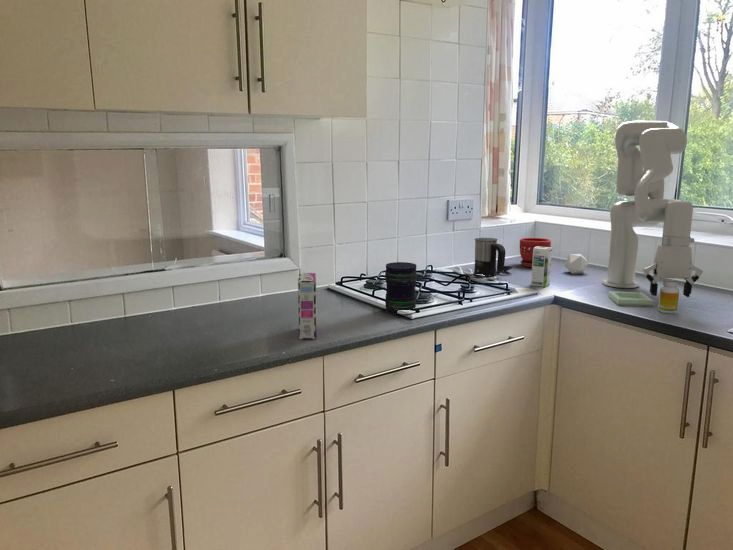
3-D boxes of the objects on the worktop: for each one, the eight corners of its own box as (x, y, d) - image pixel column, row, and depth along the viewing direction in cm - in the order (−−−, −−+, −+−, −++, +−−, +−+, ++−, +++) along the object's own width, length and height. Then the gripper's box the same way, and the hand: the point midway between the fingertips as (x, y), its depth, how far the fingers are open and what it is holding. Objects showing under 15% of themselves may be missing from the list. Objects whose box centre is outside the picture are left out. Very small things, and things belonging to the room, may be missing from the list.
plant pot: (555, 266, 250) (557, 239, 247) (534, 270, 244) (535, 242, 241) (533, 261, 261) (534, 235, 258) (512, 264, 255) (513, 238, 252)
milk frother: (469, 275, 234) (470, 239, 231) (485, 268, 247) (486, 234, 243) (502, 279, 226) (504, 242, 223) (516, 272, 239) (518, 237, 235)
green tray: (608, 296, 199) (608, 291, 199) (641, 297, 198) (642, 292, 197) (617, 305, 189) (618, 299, 188) (652, 306, 187) (653, 300, 187)
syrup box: (530, 285, 216) (532, 247, 213) (535, 282, 221) (537, 245, 218) (545, 287, 213) (548, 249, 210) (550, 284, 218) (552, 246, 215)
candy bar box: (317, 339, 155) (316, 281, 152) (298, 340, 155) (297, 281, 151) (317, 327, 166) (316, 272, 163) (300, 327, 166) (298, 272, 162)
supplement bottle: (679, 313, 178) (682, 283, 176) (660, 312, 179) (664, 282, 177) (673, 309, 183) (677, 279, 181) (655, 308, 185) (658, 278, 182)
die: (586, 277, 232) (594, 257, 234) (568, 267, 231) (577, 246, 234) (575, 280, 240) (583, 260, 242) (558, 270, 239) (566, 250, 242)
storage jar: (418, 315, 178) (419, 268, 175) (386, 315, 177) (387, 268, 174) (413, 306, 188) (414, 261, 185) (383, 307, 187) (383, 262, 184)
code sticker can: (657, 309, 184) (657, 308, 184) (671, 309, 183) (671, 309, 183) (662, 312, 180) (662, 312, 180) (677, 313, 179) (677, 313, 179)
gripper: (700, 240, 179) (694, 293, 182) (641, 239, 181) (637, 292, 185) (711, 243, 172) (704, 299, 175) (650, 242, 174) (644, 297, 177)
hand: (669, 295), depth 180 cm, fingers open, 9 cm apart
